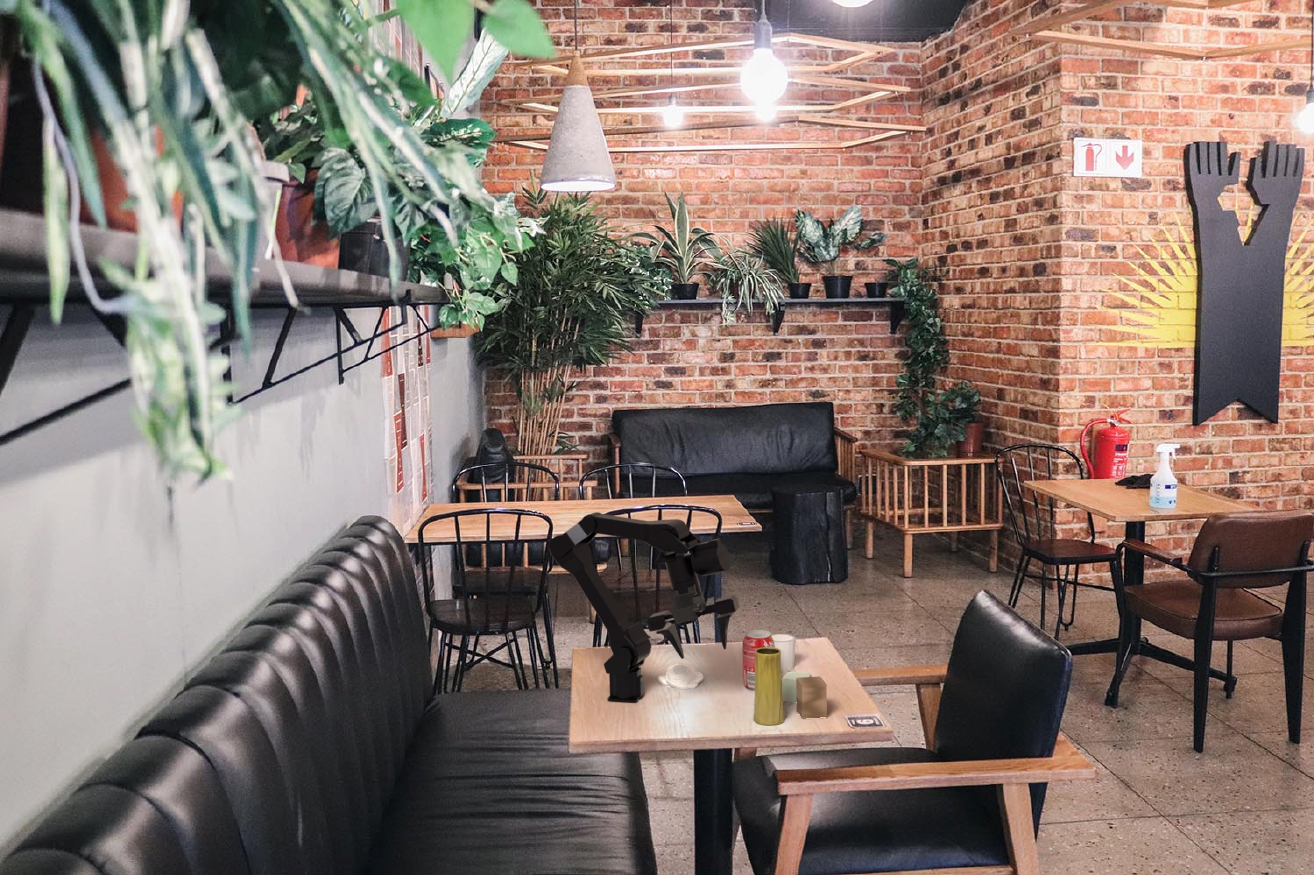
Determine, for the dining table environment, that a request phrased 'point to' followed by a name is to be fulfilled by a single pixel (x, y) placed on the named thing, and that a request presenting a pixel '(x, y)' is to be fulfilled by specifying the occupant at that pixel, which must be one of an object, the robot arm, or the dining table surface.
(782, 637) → the white cup
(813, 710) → the walnut block
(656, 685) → the dining table surface
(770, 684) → the vase
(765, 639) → the soda can
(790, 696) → the sage block
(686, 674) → the rose
